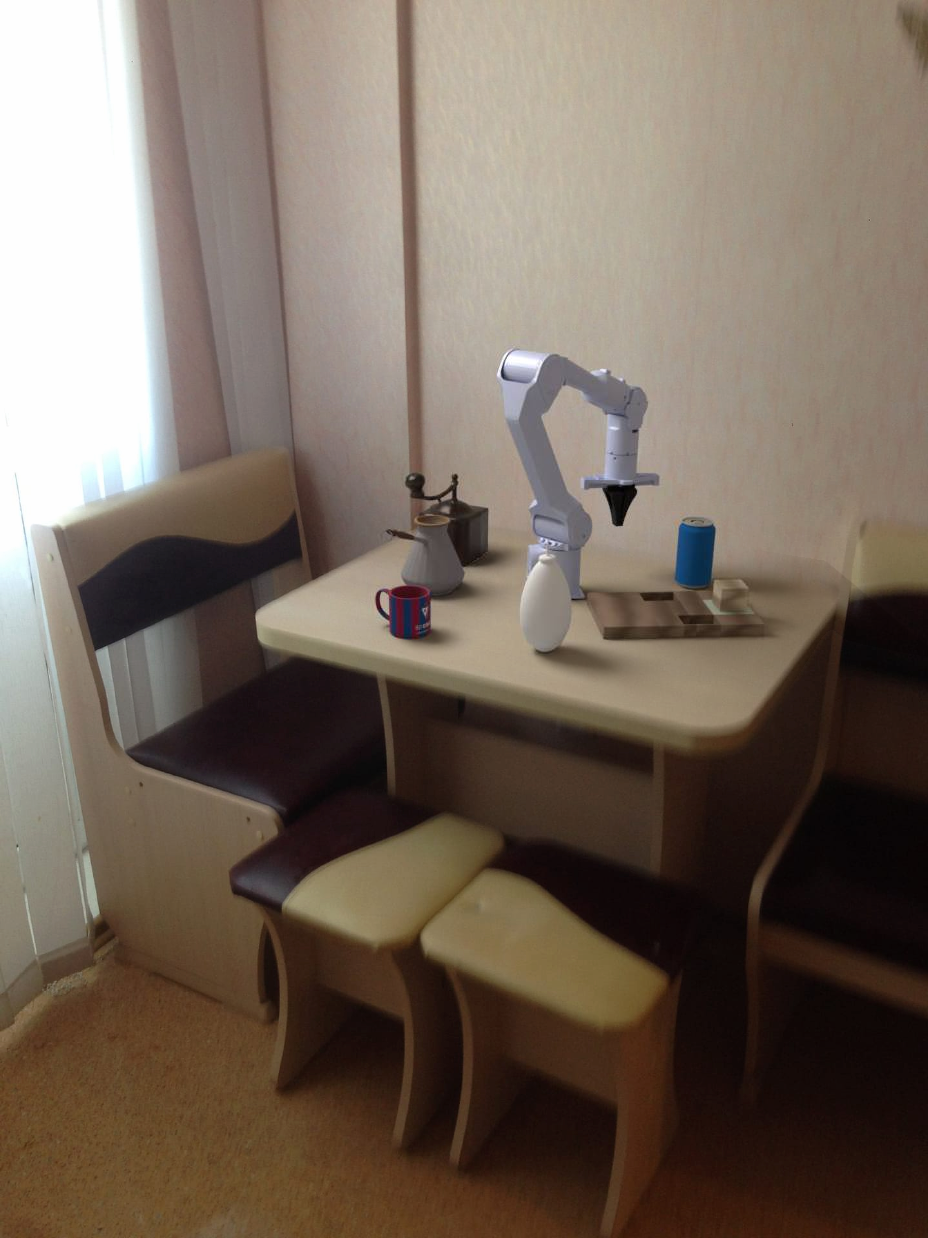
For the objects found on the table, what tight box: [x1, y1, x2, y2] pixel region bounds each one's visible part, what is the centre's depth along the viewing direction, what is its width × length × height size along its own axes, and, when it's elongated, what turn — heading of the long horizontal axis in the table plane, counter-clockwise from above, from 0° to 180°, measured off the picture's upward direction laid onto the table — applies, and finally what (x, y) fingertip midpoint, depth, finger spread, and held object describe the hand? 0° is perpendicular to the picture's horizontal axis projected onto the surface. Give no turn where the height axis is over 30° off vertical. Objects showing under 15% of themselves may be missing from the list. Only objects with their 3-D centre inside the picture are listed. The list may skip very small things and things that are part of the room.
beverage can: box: [674, 516, 717, 590], centre depth 194 cm, size 6×6×12 cm
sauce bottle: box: [519, 539, 573, 653], centre depth 165 cm, size 8×8×18 cm
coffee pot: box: [380, 515, 466, 597], centre depth 187 cm, size 21×12×15 cm, turn 152°
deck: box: [586, 590, 765, 640], centre depth 180 cm, size 26×16×2 cm, turn 93°
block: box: [712, 578, 750, 612], centre depth 179 cm, size 4×4×4 cm
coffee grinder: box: [404, 472, 489, 567], centre depth 206 cm, size 16×11×18 cm
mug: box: [374, 584, 432, 640], centre depth 175 cm, size 7×10×7 cm
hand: (617, 524), depth 199 cm, fingers closed
